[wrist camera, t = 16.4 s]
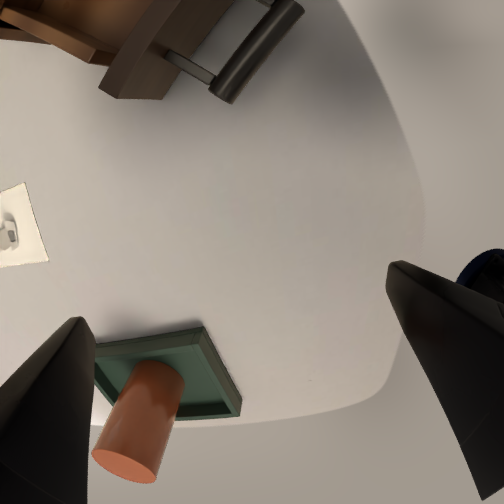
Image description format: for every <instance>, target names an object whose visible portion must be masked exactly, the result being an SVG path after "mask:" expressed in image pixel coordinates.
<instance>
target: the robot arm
mask: <svg viewBox="0 0 504 504" xmlns="http://www.w3.org/2000/svg"><path fill="white" fill-rule="evenodd" d="M495 259H496V260H495ZM494 260H495V261H494ZM386 292H387V295H388V297H389V299H390V302H391V304H392V306H393V308H394V311H395V313H396V315H397V318H398V320H399V322H400V325H401V327H402V329H403V332H404V334H405V335H406V337H407V339H408V341H409V343H410V345H411V347H412V349H413V350H414V352H415V354H416V356H417V358H418V360H419V362H420V364H421V365H422V367H423V369H424V371H425V373H426V375H427V377H428V379H429V381H430V383H431V385H432V387H433V389H434V391H435V393H436V395H437V397H438V399H439V401H440V403H441V405H442V408H443V409H444V412H445V414H446V416H447V418H448V420H449V422H450V425H451V427H452V429H453V431H454V434H455V436H456V438H457V440H458V442H459V445H460V448H461V450H462V452H463V455H464V457H465V460H466V462H467V464H468V467H469V469H470V472H471V474H472V477H473V479H474V482H475V485H476V487H477V490H478V493H479V495H480V497H481V500H485V499H486V498H488V497H489V496H491V495H493V494H494V493H496V492H497V491H499V490H500V489H502V488H503V487H504V259H503V258H501V257H500V256H499V255H498V254H496V253H494V254H492V255H491V256H490V258H489V260H488V261H487V263H486V264H485V266H484V268H483V269H482V271H481V272H480V274H479V275H478V277H477V278H476V280H475V281H474V283H473V284H472V286H471V287H470V289H469V288H466V287H464V286H462V285H460V284H457V283H455V282H452V281H450V280H448V279H446V278H443V277H441V276H439V275H436V274H434V273H432V272H429V271H427V270H425V269H422V268H420V267H417V266H415V265H413V264H410V263H408V262H405V261H403V260H400V261H395V262H391V263H390V264H389V266H388V272H387V279H386ZM95 348H96V342H95V338H94V335H93V333H92V332H91V330H90V328H89V326H88V324H87V322H86V320H85V319H84V318H83V317H81V316H80V317H72V318H70V319H68V320H67V321H66V322H65V323H64V324H63V325H62V326H61V327H60V328H59V329H58V330H57V331H56V332H55V333H54V334H53V335H51V336H50V337H49V338H48V339H47V340H46V341H45V342H44V343H43V344H42V345H41V346H40V347H39V348H38V349H37V350H36V351H35V352H34V353H33V354H32V355H31V356H30V357H29V358H28V359H27V360H26V361H25V362H24V363H23V364H22V365H21V366H20V367H19V368H18V369H17V370H16V371H15V372H14V373H13V374H12V375H11V376H10V378H9V379H8V380H7V381H6V382H5V383H4V384H3V385H2V386H1V387H0V504H87V480H88V479H87V478H88V477H87V476H88V453H89V437H90V424H91V413H92V403H93V394H94V375H95Z"/></svg>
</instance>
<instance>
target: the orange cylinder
mask: <svg viewBox="0 0 504 504" xmlns="http://www.w3.org/2000/svg"><path fill="white" fill-rule="evenodd" d="M184 390H185V383H184V380H183V378H182V377H181V375H180V374H179V373H178V372H177V371H176V370H174V369H173V368H172V367H170V366H168V365H166V364H164V363H162V362H159V361H154V360H143V361H140V362H138V363H136V364H135V365H134V367H133V368H132V370H131V372H130V374H129V376H128V378H127V380H126V382H125V384H124V386H123V388H122V390H121V392H120V394H119V396H118V398H117V400H116V402H115V404H114V406H113V408H112V410H111V412H110V414H109V416H108V418H107V420H106V422H105V424H104V426H103V429H102V431H101V433H100V435H99V437H98V439H97V441H96V443H95V446H94V448H93V450H92V453H91V454H92V457H93V458H94V460H95V461H96V462H97V463H98V464H99V465H100V466H102V467H103V468H104V469H106V470H107V471H109V472H111V473H113V474H115V475H117V476H119V477H121V478H124V479H127V480H129V481H133V482H137V483H146V484H147V483H152V482H154V481H155V480H156V478H157V474H158V471H159V468H160V465H161V461H162V458H163V455H164V452H165V449H166V446H167V442H168V439H169V436H170V433H171V430H172V427H173V424H174V421H175V418H176V415H177V411H178V408H179V405H180V402H181V399H182V396H183V393H184Z"/></svg>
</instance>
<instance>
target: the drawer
mask: <svg viewBox="0 0 504 504" xmlns="http://www.w3.org/2000/svg"><path fill="white" fill-rule="evenodd" d="M233 1H234V0H5V2H4V4H3V6H2V8H1V10H0V19H1V20H3V21H5V22H7V23H9V24H12V25H14V26H16V27H18V28H20V29H22V30H24V31H26V32H28V33H30V34H32V35H34V36H36V37H39V38H41V39H43V40H44V41H46V42H48V43H50V44H52V45H54V46H56V47H58V48H60V49H62V50H64V51H66V52H68V53H70V54H71V55H73V56H75V57H77V58H79V59H81V60H82V61H84V62H86V63H88V64H95V65H102V66H108V67H109V69H108V70H107V72H106V74H105V76H104V77H103V79H102V81H101V83H100V85H99V87H98V88H99V89H101V90H102V91H104V92H106V93H107V94H109V95H111V96H112V97H114V98H116V99H152V100H162V99H163V97H164V96H165V94H166V93H167V91H168V89H169V88H170V86H171V85H172V83H173V82H174V80H175V79H176V77H177V76H178V74H179V73H180V71H181V70H183V71H185V72H187V73H188V74H190V75H192V76H193V77H195V78H197V79H198V80H200V81H202V82H203V83H205V84H207V85H209V88H208V90H209V91H210V92H211V93H212V94H214V95H215V96H217V97H218V98H220V99H222V100H223V101H225V102H227V103H229V104H233V103H234V101H235V100H236V98H237V97H238V96H239V94H240V93H241V92H242V90H243V89H244V88H245V86H246V85H247V84H248V82H249V81H250V80H251V78H252V77H253V76H254V74H255V73H256V72H257V70H258V69H259V68H260V67H261V65H262V64H263V63H264V61H265V60H266V59H267V58H268V56H269V55H270V54H271V53H272V51H273V50H274V49H275V48H276V46H277V45H278V44H279V43H280V41H281V40H282V39H283V38H284V37H285V35H286V34H287V33H288V32H289V31H290V29H291V28H292V27H293V26H294V25H295V24H296V22H297V21H298V20H299V19H300V18H301V17H302V15H303V14H304V13H305V10H304V9H303V7H302V6H301V5H300V4H298V3H297V2H296V1H294V0H256V1H258V2H260V3H261V4H263V5H265V6H267V7H268V8H270V9H269V11H268V12H267V13H266V14H265V15H264V16H263V18H262V19H261V20H260V21H259V22H258V24H257V25H256V26H255V27H254V28H253V30H252V31H251V32H250V33H249V35H248V36H247V37H246V38H245V40H244V41H243V42H242V43H241V45H240V46H239V47H238V49H237V50H236V51H235V52H234V54H233V55H232V56H231V58H230V59H229V60H228V62H227V63H226V64H225V66H224V67H223V68H222V70H221V71H220V73H219V74H218V75H217V76H216V75H214V74H213V73H211V72H209V71H208V70H206V69H204V68H203V67H201V66H199V65H198V64H196V63H194V62H192V61H191V60H189V58H190V57H191V56H192V54H193V53H194V51H195V50H196V49H197V47H198V46H199V45H200V43H201V42H202V40H203V39H204V38H205V36H206V35H207V34H208V33H209V31H210V30H211V29H212V27H213V26H214V25H215V24H216V22H217V21H218V20H219V18H220V17H221V16H222V15H223V14H224V12H225V11H226V10H227V9H228V7H229V6H230V5H231V4H232V3H233Z"/></svg>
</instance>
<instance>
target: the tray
mask: <svg viewBox="0 0 504 504" xmlns="http://www.w3.org/2000/svg"><path fill="white" fill-rule="evenodd" d="M143 360H154V361H159V362H162V363H164V364H166V365H168V366H170V367H172V368H173V369H174V370H176V371H177V372H178V373H179V374H180V375H181V377H182V378H183V380H184V383H185V390H184V393H183V396H182V399H181V402H180V405H179V408H178V411H177V415H176V418H175V421H184V420H204V419H218V418H230V417H239V416H240V412H241V405H242V398H241V397H240V395H239V393H238V391H237V389H236V387H235V386H234V384H233V382H232V380H231V378H230V376H229V375H228V373H227V371H226V369H225V367H224V365H223V363H222V361H221V360H220V358H219V356H218V354H217V352H216V350H215V348H214V346H213V344H212V342H211V340H210V338H209V336H208V334H207V332H206V330H205V328H204V327H201V328H196V329H190V330H185V331H179V332H173V333H168V334H162V335H156V336H150V337H144V338H137V339H131V340H124V341H117V342H111V343H103V344H96V348H95V375H94V384H95V385H96V387H97V388H98V389H99V390H100V392H101V393H102V394H103V395H104V397H105V398H106V399H107V400H108V401H109V403H110V404H111V405H112V406H114V404H115V402H116V400H117V398H118V396H119V394H120V392H121V390H122V388H123V386H124V384H125V382H126V380H127V378H128V376H129V374H130V372H131V370H132V368H133V367H134V365H135V364H136V363H138V362H140V361H143Z"/></svg>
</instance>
